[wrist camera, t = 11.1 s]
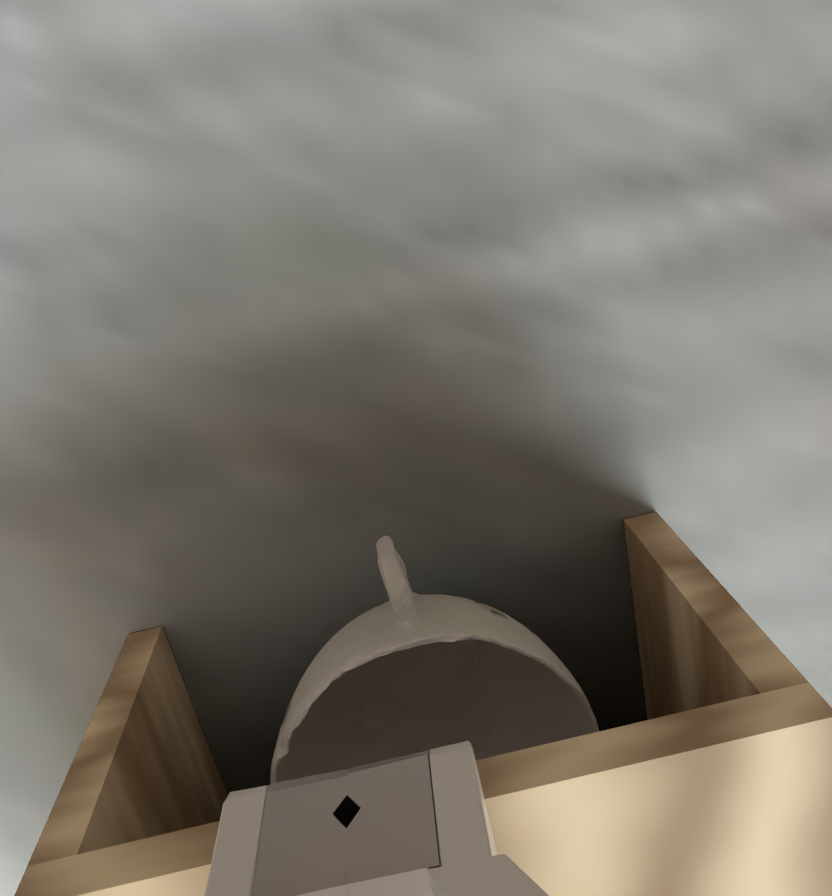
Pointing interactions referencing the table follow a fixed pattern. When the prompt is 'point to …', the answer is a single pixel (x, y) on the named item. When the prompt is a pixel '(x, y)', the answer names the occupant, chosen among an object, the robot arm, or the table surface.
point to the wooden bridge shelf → (514, 769)
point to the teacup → (426, 685)
